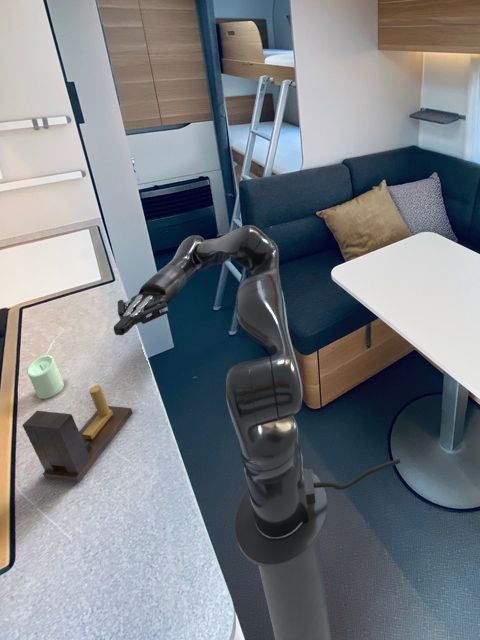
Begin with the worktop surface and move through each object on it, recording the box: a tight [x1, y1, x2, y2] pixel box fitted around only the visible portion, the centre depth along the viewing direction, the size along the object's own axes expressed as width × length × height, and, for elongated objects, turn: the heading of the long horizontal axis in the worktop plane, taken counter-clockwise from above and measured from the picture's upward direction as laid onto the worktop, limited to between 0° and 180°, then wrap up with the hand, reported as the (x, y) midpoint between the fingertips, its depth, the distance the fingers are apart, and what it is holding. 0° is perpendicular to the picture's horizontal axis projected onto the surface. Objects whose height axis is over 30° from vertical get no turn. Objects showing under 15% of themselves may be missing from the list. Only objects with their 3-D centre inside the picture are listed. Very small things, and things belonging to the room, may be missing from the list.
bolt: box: [82, 384, 113, 439], centre depth 83 cm, size 6×2×8 cm, turn 173°
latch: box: [22, 405, 133, 484], centre depth 80 cm, size 15×7×14 cm, turn 173°
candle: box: [26, 354, 65, 400], centre depth 94 cm, size 5×5×8 cm
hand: (117, 332), depth 89 cm, fingers closed
